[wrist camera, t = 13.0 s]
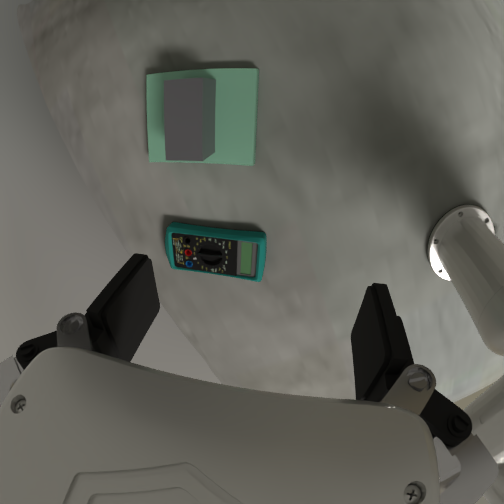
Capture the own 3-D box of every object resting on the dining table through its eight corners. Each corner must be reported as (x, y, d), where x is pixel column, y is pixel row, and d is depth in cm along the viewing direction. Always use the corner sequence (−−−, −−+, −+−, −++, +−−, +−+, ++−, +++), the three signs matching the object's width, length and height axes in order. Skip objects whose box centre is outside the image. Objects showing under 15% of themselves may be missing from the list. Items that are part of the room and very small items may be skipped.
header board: (258, 69, 29) (252, 66, 25) (254, 162, 35) (248, 172, 31) (152, 74, 31) (134, 74, 27) (154, 159, 37) (138, 167, 33)
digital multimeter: (169, 219, 42) (161, 228, 40) (268, 230, 40) (265, 240, 38) (173, 260, 46) (166, 270, 43) (264, 273, 44) (261, 285, 42)
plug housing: (216, 79, 29) (202, 77, 25) (215, 152, 34) (202, 161, 30) (181, 81, 29) (163, 80, 25) (181, 151, 34) (165, 160, 30)
